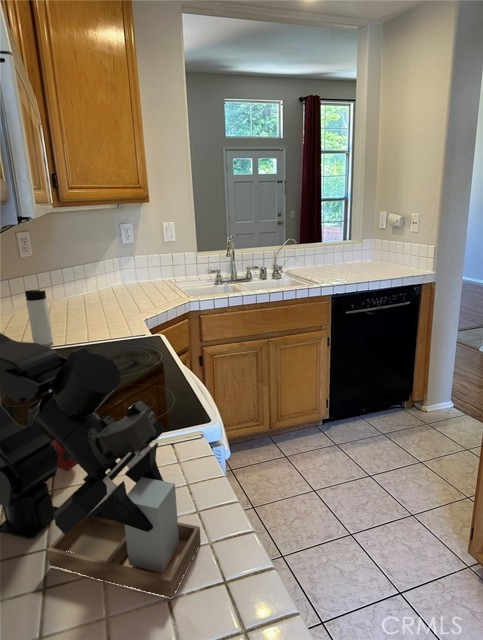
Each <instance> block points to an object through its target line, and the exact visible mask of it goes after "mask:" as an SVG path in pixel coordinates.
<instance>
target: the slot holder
mask: <svg viewBox="0 0 483 640" xmlns="http://www.w3.org/2000/svg"><path fill="white" fill-rule="evenodd" d="M200 527H201V526H199V525H198V526H197V525H193V524H190V523H189V524H187V523H183V522H179V521H178V534H179V546H178V548H177V549H176V551H175V553H174V555H173V556H172V558H171V560H170V562H169V563H168V565H167V567H166V569H165V570H164V572H163V573H160V572H156V571H152V570H148V569H144V568H140V567H136V566H132V565H129V561H128V552H127V543H126V534H125V525H124V524H122V523H119V522H116V521H112V520H107V519H103V518H98V517H92V518H91V519H89V520H88V519H86V518H84V519H82V520H81V521H80V522H79V523H78V524H77V525H76V526H75V527H73V528H72V529H71V530H70V531H69V532H68V533H67V534H64V533H63V532H62V533H61V534H60V535H59V537H58V538H56V540H55V541H54V542H53V543H51V545H50V546H49V547H48V548H47V549H46V552H47V558H48V565H49V566H50V565H51V566H55V567H59V568H63V569H67V570H70V571H72V572H76V573H80V574H82V575H86V576H89V577H93V578H95V579H100V580H103V581H107V582H111V583H115V584H119V585H122V586H124V585H125V586H128V587H133V588H136V589H140V590H142V591H146V592H151V593H155V594H159V595H164V596H165V597H166V596H167V597H169V598H172V597H173V596H174V594H175V591H176V590H177V588H178V586H179V583H180V582H181V580H182V577H183V575H184V574H185V572H186V570H187V568H188V566H189V564H190V562H191V561H192V558H193V556H194V555H195V553H196V551H197V549H198V547H199V545H200V543H201V542H202V541H201V540H202V539H201V528H200ZM201 544H202V543H201ZM200 546H201V545H200ZM199 548H200V547H199ZM198 550H199V549H198ZM66 551H67V552H66ZM68 551H69V552H68ZM70 551H71V552H72V553H71V552H70ZM73 552H74V553H73ZM197 552H198V551H197ZM196 554H197V553H196ZM195 556H196V555H195ZM192 562H193V561H192ZM188 569H189V568H188ZM187 571H188V570H187ZM186 573H187V572H186ZM185 575H186V574H185ZM182 581H183V580H182ZM181 583H182V582H181ZM179 587H180V586H179ZM178 589H179V588H178ZM177 591H178V590H177ZM175 595H176V594H175ZM174 597H175V596H174Z"/></svg>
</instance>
